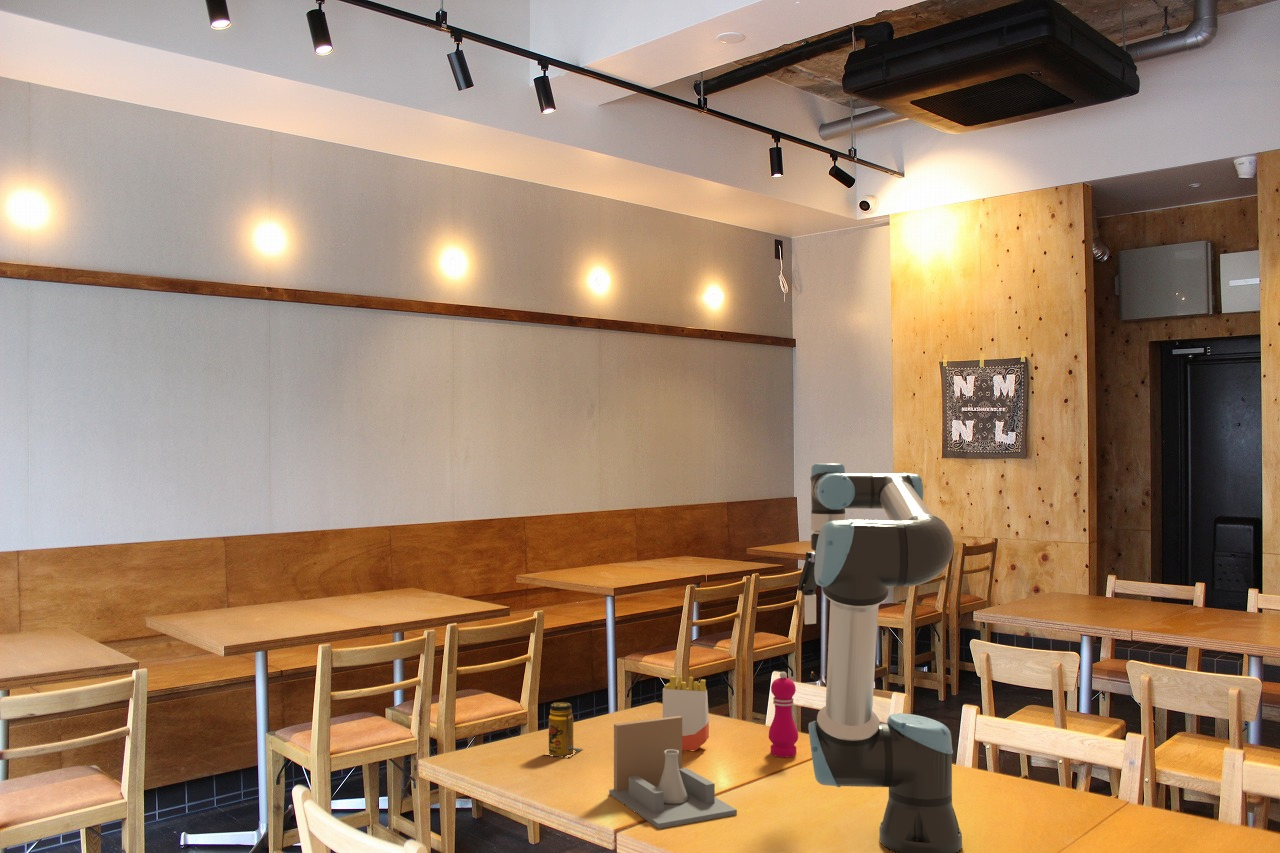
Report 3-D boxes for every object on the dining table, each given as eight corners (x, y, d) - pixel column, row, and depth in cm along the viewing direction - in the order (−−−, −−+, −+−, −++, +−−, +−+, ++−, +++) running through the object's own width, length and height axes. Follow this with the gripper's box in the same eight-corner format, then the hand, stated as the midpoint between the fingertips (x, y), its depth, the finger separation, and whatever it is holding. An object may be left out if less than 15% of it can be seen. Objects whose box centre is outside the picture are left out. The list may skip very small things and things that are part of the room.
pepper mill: (778, 747, 260) (778, 667, 260) (803, 753, 255) (803, 671, 256) (762, 754, 254) (762, 672, 255) (788, 759, 250) (788, 676, 250)
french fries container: (666, 743, 263) (666, 672, 264) (709, 746, 261) (708, 674, 261) (662, 748, 259) (662, 676, 259) (705, 752, 256) (705, 678, 257)
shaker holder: (736, 814, 212) (736, 740, 212) (658, 828, 204) (658, 751, 204) (682, 782, 232) (682, 715, 233) (609, 794, 224) (609, 724, 225)
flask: (685, 806, 214) (685, 757, 214) (651, 803, 215) (651, 755, 216) (691, 794, 221) (691, 747, 221) (657, 792, 222) (657, 745, 223)
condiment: (542, 755, 253) (542, 706, 253) (556, 746, 261) (556, 698, 261) (569, 758, 250) (569, 708, 251) (583, 749, 258) (583, 700, 259)
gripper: (878, 536, 222) (878, 635, 222) (808, 528, 244) (809, 619, 244) (849, 537, 219) (850, 638, 218) (782, 529, 241) (782, 621, 241)
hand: (828, 628), depth 231 cm, fingers open, 13 cm apart
